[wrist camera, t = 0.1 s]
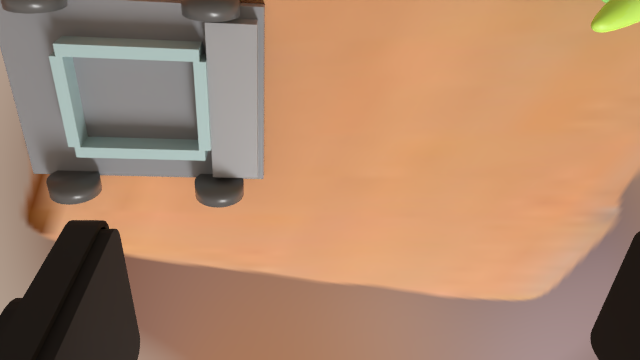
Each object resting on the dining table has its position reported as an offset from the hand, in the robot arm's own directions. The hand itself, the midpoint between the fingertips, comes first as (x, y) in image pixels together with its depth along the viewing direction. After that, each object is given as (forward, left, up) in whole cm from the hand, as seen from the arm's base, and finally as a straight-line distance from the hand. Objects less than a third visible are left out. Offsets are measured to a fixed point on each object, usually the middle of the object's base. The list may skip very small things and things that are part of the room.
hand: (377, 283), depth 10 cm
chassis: (+12, -14, -37) cm, 41 cm away
